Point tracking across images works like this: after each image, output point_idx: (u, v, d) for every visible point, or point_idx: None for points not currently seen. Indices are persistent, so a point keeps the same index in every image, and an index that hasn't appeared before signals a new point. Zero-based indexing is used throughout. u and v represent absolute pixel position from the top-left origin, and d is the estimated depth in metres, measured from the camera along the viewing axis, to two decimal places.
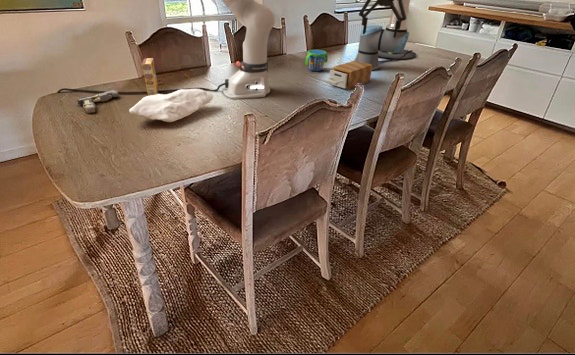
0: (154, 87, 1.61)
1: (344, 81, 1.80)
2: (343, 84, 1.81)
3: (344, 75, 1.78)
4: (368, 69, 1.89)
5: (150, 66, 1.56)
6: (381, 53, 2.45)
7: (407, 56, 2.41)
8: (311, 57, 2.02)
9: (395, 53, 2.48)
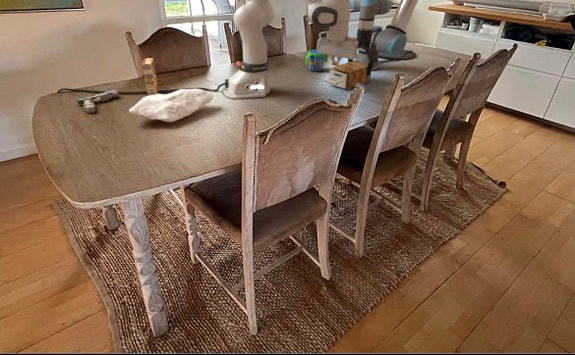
0: (154, 87, 1.61)
1: (344, 81, 1.80)
2: (343, 84, 1.81)
3: (344, 75, 1.78)
4: None
5: (150, 66, 1.56)
6: (381, 53, 2.45)
7: (407, 56, 2.41)
8: (311, 57, 2.02)
9: None
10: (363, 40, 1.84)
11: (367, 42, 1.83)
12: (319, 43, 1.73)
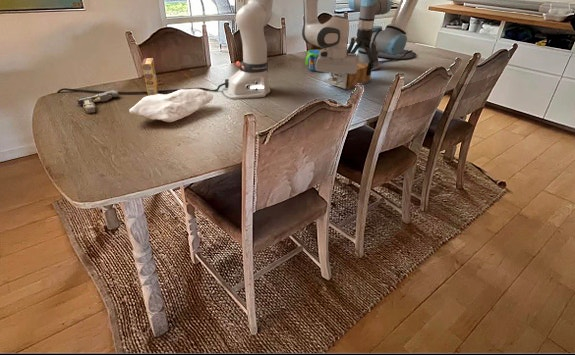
0: (154, 87, 1.61)
1: (344, 81, 1.80)
2: (343, 84, 1.81)
3: (344, 75, 1.78)
4: None
5: (150, 66, 1.56)
6: (381, 53, 2.45)
7: (407, 56, 2.41)
8: (311, 57, 2.02)
9: None
10: (363, 40, 1.84)
11: (367, 42, 1.83)
12: (318, 62, 1.75)
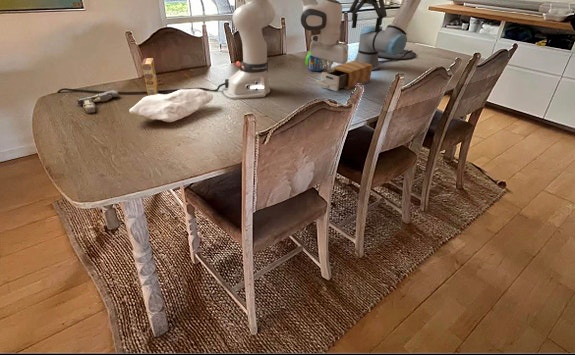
0: (154, 87, 1.61)
1: (336, 84, 1.76)
2: (335, 87, 1.77)
3: (336, 78, 1.74)
4: (368, 69, 1.89)
5: (150, 66, 1.56)
6: (381, 53, 2.45)
7: (407, 56, 2.41)
8: (311, 57, 2.02)
9: None
10: None
11: None
12: (312, 46, 1.71)
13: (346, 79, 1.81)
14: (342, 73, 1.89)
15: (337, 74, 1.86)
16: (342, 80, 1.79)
